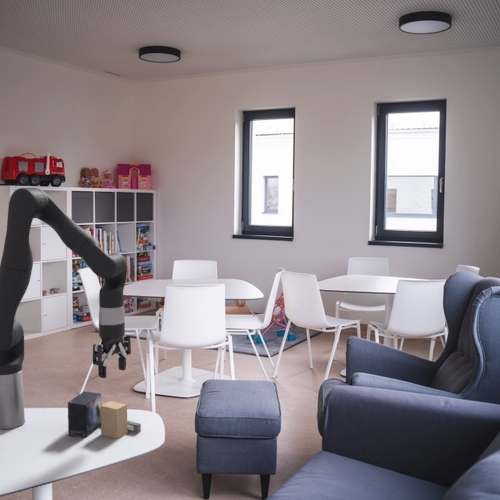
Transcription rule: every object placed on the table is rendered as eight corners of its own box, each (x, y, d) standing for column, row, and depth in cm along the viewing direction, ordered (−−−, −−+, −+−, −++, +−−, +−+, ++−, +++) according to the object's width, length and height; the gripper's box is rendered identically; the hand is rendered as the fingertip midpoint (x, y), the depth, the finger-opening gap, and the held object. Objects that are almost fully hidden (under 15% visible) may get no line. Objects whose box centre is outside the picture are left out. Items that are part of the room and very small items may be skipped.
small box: (87, 438, 197) (86, 404, 196) (67, 436, 199) (66, 402, 197) (103, 424, 207) (102, 392, 206) (84, 422, 209) (83, 390, 207)
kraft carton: (117, 438, 197) (116, 409, 196) (101, 434, 200) (100, 405, 199) (127, 433, 201) (127, 404, 200) (111, 428, 204) (110, 400, 203)
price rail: (83, 419, 211) (83, 412, 211) (86, 418, 212) (86, 410, 212) (137, 433, 200) (137, 425, 200) (140, 431, 202) (140, 423, 201)
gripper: (118, 314, 204) (118, 365, 206) (85, 324, 191) (86, 378, 193) (137, 317, 200) (137, 369, 202) (104, 327, 188) (105, 382, 190)
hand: (112, 373), depth 198 cm, fingers open, 8 cm apart
